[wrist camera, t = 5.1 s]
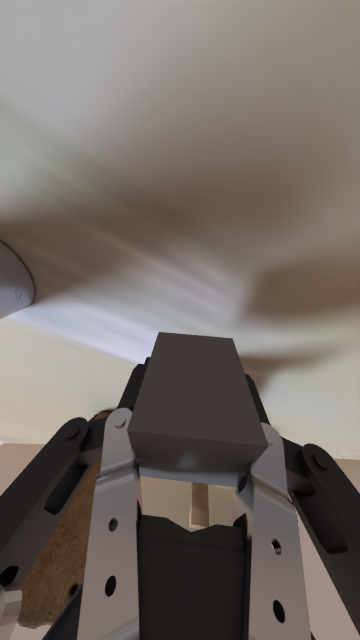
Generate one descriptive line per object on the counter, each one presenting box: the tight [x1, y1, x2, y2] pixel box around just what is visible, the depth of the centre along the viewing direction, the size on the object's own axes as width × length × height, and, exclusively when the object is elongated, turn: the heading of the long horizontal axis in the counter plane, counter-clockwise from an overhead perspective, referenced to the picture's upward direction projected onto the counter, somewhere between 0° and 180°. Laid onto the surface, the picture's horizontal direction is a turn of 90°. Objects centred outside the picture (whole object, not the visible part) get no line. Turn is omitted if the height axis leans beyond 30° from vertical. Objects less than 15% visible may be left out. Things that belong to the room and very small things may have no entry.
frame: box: [189, 482, 236, 529], centre depth 22 cm, size 2×21×12 cm, turn 176°
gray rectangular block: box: [127, 332, 269, 488], centre depth 9 cm, size 5×5×6 cm
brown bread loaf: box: [17, 412, 111, 629], centre depth 25 cm, size 11×8×20 cm
